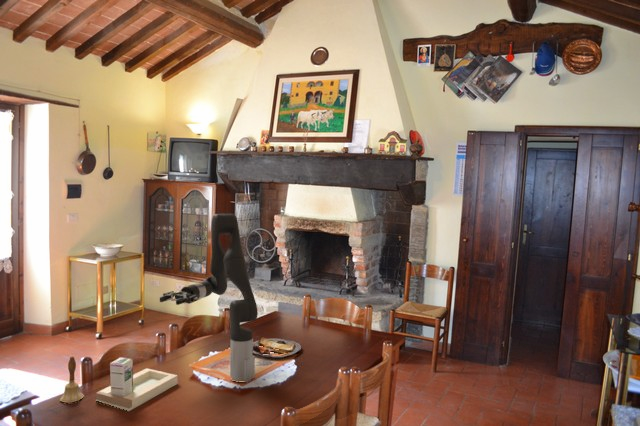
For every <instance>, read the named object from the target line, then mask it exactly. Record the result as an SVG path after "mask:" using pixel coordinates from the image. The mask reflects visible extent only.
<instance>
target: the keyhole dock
mask: <svg viewBox="0 0 640 426" xmlns="http://www.w3.org/2000/svg"><path fill="white" fill-rule="evenodd" d="M176 385H178V375H177V374H174V373H169V372H165V371H160V370H156V369H152V368H147V367H146V368H144V369H142V370H140V371H138V372H135V373H133V393H131V394H129V395H127V396H125V397H119V396H115V395H111V385H109V386H107V387H105V388H102V389H101V390H99V391H97V392H95V402H96V401H99V402H102V403H106V404H109V405H111V406H110V407H112V406H114V407H113V408H116V407H117V408H116V409H119V408H120V410H123V409H124V411H126V410H127V412H130V411H132V410H134V409H135V408H137V407H139V406H141V405H142V404H144V403H146V402H148V401H150V400H152V399H153V398H155V397H157V396H158V395H160V394H162V393H164V392H165V391H167V390H169V389H171V388H172V387H174V386H176ZM109 405H108V406H109Z"/></svg>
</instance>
